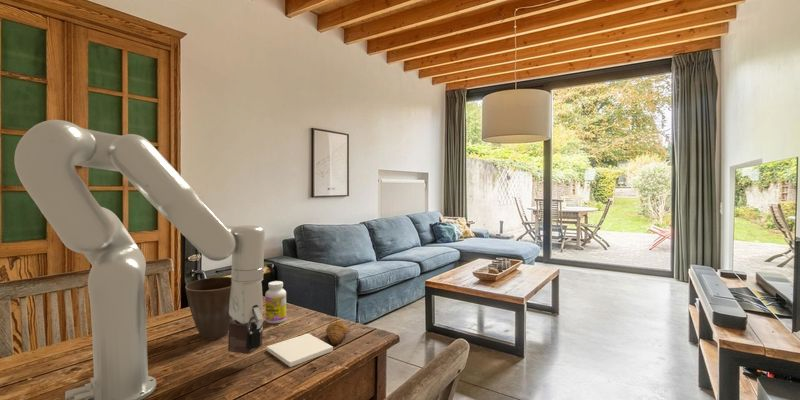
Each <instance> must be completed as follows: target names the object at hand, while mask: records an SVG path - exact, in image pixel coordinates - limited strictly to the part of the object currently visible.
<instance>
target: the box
mask: <svg viewBox="0 0 800 400" xmlns="http://www.w3.org/2000/svg"><path fill="white" fill-rule="evenodd" d="M250 320H254V318H252V319H250ZM254 324H256V323H252V324H251V327H253V325H254ZM263 327H264V325H263V324H262V328H261V332H260V347H262V346H263ZM247 333H248V328H247V324H241V323H240V322H238V321H237V320H234V321H232V322H230V323H229V331H228V338H227V339H228V341H227V342H228V344H227V345H228V348H227V351H228V352H230V353H236V354H245V355H250V354H252V353H254V352H255V351H256V350H257V349H259V348H260V347H258V348H254V349H251V350H247V349H246V341H247Z"/></svg>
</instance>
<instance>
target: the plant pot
mask: <svg viewBox="0 0 800 400" xmlns="http://www.w3.org/2000/svg"><path fill="white" fill-rule="evenodd" d="M231 284H232V281H231V276H217V277H216V276H213V277H207V278H201V279H197V280H194V281H191V282H189V283H187V284H186V285H185V286H184V287H185V292H186V293H185V294H186V298H187V303H188V307H189V311H190V313H191V316H192V319H193V322H194V325H195V327H196V329H197V331H198V334H199V335H200V338H202V339H205V340H215V339H216V340H217V339H219V338H222V337H225V336H227V335H228V334H229V323H230V322H232V317H231V316H230V315H229V301H230V290H231Z"/></svg>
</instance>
